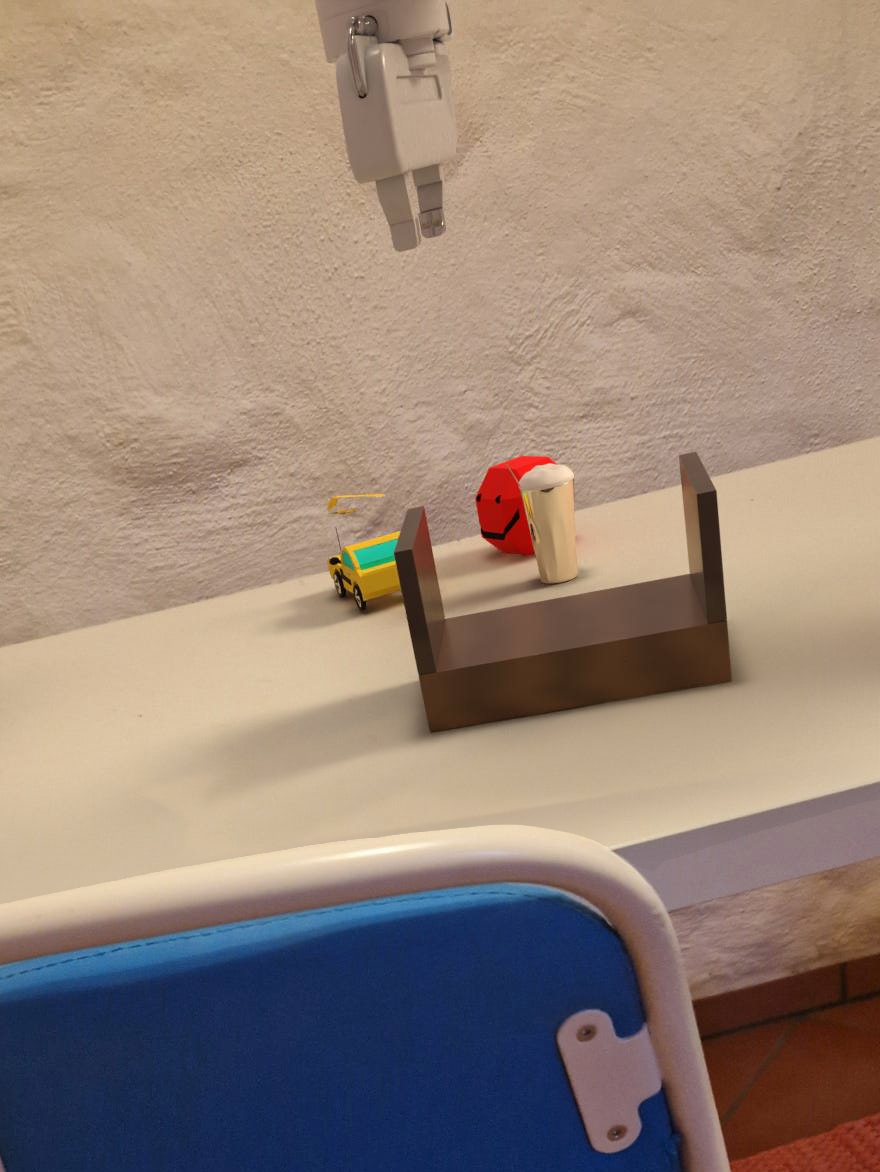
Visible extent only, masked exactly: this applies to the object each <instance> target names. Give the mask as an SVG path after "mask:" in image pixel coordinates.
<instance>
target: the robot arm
mask: <svg viewBox="0 0 880 1172" xmlns="http://www.w3.org/2000/svg"><path fill="white" fill-rule="evenodd" d="M314 5H315V9H316V14H317V19H318V25H319V29H320V35H321V40H322V45H323V49H324V55H325V61H326V63H327V64H335V80H336V88H337V96H338V104H339V110H340V115H341V122H342V123H341V124H342V129H343V134H344V140H345V148H346V152H347V158H348V163H349V167H350V169H351V172H352V174H353V177H354V180H355V181H356V182H357V183H358V184H360V185H362V184H367V183H371V182H375V187H376V192H377V198H378V201H379V204H380V206H381V209H382V211H383V214H384V217H385V219H386V221H387V224H388V226H389V231H390V236H391V241H392V247H393V249H394V250H395V251H396V252H398V253H402V252H405V251H410V250H414V249H416V248H418V247H419V246H420V245H421V243H422V237H423V238H424V239H432V238H436V237H439V236H443V235H445V234H446V233H447V231H448V222H447V217H446V216H447V215H446V209H445V175H444V169H443V163H446V162H450V161H452V160H454V159H455V158H456V156H457V149H458V148H457V147H458V146H457V145H458V129H457V128H458V127H457V119H456V106H455V97H454V87H453V77H452V69H451V68H452V67H451V61H450V54H449V49H448V47H447V45H446V44H445V42H450V41H451V40H452V39H453V37H454V29H453V28H454V27H453V22H452V16H451V11H450V8H449V5H448V4H447V1H446V0H314ZM410 172H411V174H412V180H413V186H414V188H416V194H417V202H418V209H419V212H418V214H417V215H418V217H416V215H415V209H414V205H413V201H412V196H411V192H412V187H411V181H410V175H409V173H410Z"/></svg>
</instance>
